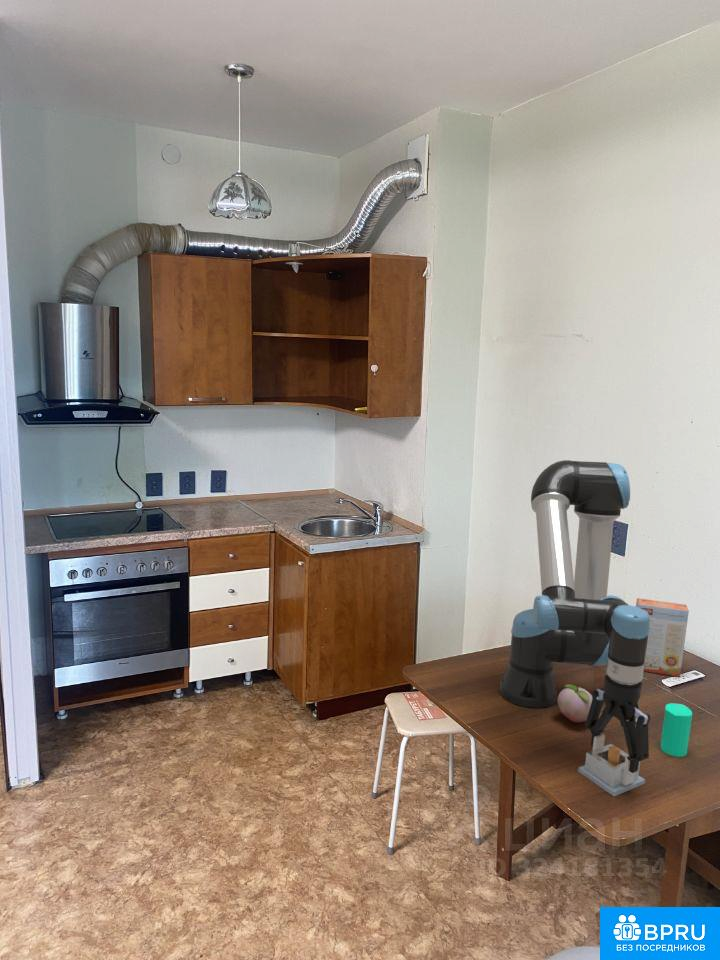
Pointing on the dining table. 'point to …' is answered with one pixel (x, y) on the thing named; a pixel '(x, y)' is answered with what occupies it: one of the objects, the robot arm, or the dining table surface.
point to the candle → (676, 729)
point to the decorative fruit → (575, 703)
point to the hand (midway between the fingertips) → (611, 772)
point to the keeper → (614, 760)
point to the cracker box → (665, 636)
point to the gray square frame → (607, 766)
